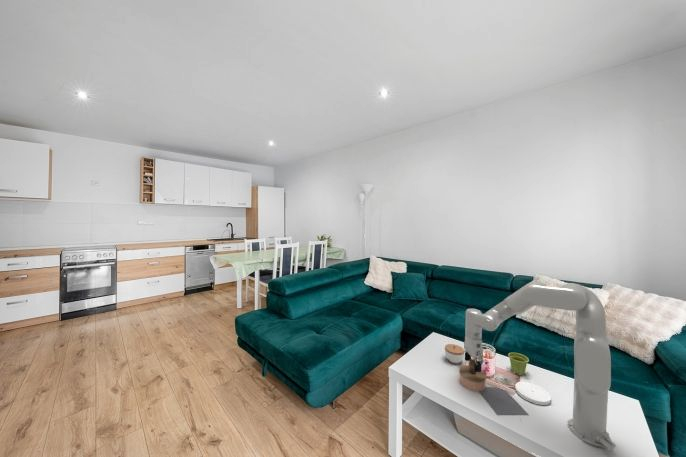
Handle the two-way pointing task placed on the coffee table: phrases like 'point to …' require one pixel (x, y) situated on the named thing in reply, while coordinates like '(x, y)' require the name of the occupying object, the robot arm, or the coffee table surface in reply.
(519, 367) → the plant pot
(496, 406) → the mat
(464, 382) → the bowl
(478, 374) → the lid
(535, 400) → the plastic lid
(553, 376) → the coffee table surface
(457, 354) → the lidded jar
